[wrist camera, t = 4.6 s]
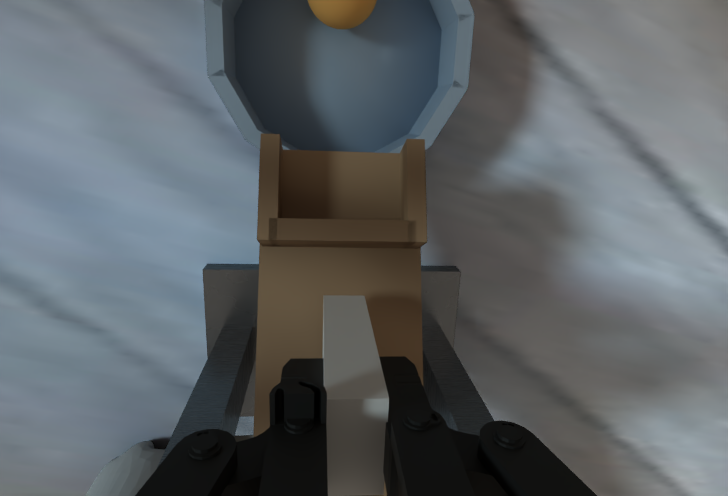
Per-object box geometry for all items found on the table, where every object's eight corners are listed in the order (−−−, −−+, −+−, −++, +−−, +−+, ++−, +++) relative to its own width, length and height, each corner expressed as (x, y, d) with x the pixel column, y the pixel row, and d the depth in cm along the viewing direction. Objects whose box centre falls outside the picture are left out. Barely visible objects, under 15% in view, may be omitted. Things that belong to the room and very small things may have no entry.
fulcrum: (442, 402, 29) (521, 585, 18) (214, 406, 28) (141, 607, 17) (455, 266, 27) (555, 376, 16) (207, 264, 26) (115, 382, 14)
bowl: (441, 173, 26) (459, 181, 22) (227, 166, 24) (212, 174, 21) (460, -66, 22) (484, -98, 19) (217, -85, 21) (198, -123, 18)
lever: (414, 635, 23) (468, 808, 15) (247, 646, 22) (206, 834, 14) (407, 195, 26) (447, 139, 18) (261, 192, 25) (235, 132, 17)
